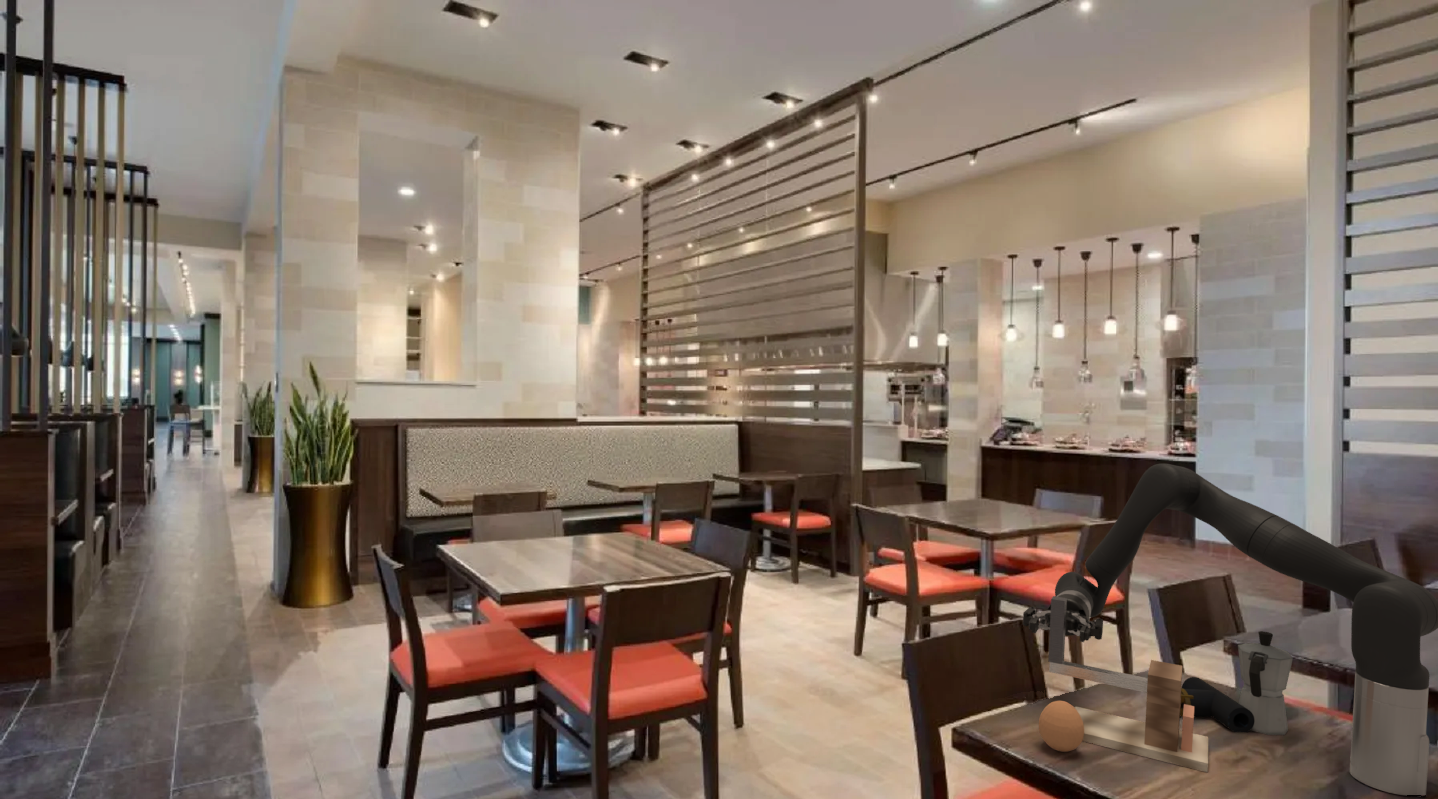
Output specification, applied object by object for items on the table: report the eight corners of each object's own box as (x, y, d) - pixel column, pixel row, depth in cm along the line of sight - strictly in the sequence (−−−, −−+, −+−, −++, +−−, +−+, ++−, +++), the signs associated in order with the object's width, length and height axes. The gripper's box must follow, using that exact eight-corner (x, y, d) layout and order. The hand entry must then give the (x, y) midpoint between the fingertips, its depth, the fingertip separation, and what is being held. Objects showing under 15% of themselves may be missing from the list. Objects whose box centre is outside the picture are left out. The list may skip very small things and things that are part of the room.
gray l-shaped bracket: (1164, 692, 141) (1168, 614, 141) (1163, 696, 139) (1167, 618, 139) (1050, 668, 152) (1053, 596, 151) (1047, 672, 150) (1051, 598, 149)
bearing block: (1207, 745, 142) (1211, 668, 142) (1207, 772, 132) (1211, 690, 131) (1075, 713, 154) (1078, 643, 153) (1065, 736, 144) (1069, 661, 143)
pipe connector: (1194, 704, 148) (1151, 673, 163) (1192, 731, 148) (1149, 699, 163) (1255, 707, 148) (1206, 676, 163) (1253, 735, 148) (1204, 702, 163)
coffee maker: (1241, 708, 159) (1246, 620, 158) (1295, 723, 153) (1300, 631, 152) (1222, 730, 148) (1227, 635, 148) (1278, 747, 142) (1284, 648, 142)
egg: (1079, 764, 133) (1082, 714, 133) (1033, 751, 137) (1036, 703, 137) (1086, 747, 140) (1088, 700, 139) (1041, 736, 144) (1044, 690, 143)
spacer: (1192, 739, 141) (1194, 706, 141) (1191, 752, 136) (1193, 718, 135) (1182, 737, 142) (1183, 704, 141) (1181, 749, 137) (1182, 715, 136)
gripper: (1034, 587, 167) (1018, 605, 153) (1108, 600, 160) (1099, 620, 146) (1032, 623, 167) (1017, 644, 153) (1107, 636, 160) (1097, 660, 146)
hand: (1057, 632), depth 150 cm, fingers open, 8 cm apart
